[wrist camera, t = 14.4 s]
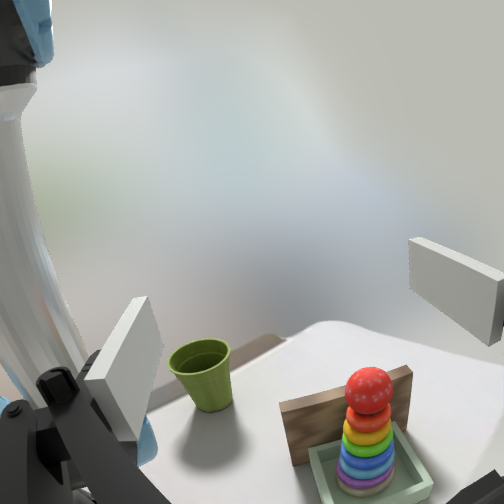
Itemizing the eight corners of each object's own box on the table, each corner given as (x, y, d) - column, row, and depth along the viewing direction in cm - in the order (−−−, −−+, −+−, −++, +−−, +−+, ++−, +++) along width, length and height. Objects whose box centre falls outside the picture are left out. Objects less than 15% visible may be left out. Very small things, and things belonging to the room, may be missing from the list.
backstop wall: (292, 465, 39) (281, 412, 36) (290, 456, 41) (278, 402, 38) (406, 430, 40) (412, 372, 37) (401, 422, 42) (406, 364, 39)
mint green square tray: (331, 533, 26) (330, 522, 25) (310, 463, 39) (307, 448, 38) (428, 497, 27) (434, 483, 26) (392, 437, 39) (394, 420, 38)
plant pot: (196, 383, 65) (180, 339, 62) (249, 382, 62) (237, 336, 59) (176, 419, 54) (155, 373, 51) (236, 422, 51) (220, 374, 48)
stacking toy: (402, 486, 29) (422, 384, 25) (344, 507, 29) (342, 413, 24) (382, 448, 37) (387, 344, 32) (329, 465, 37) (318, 365, 32)
